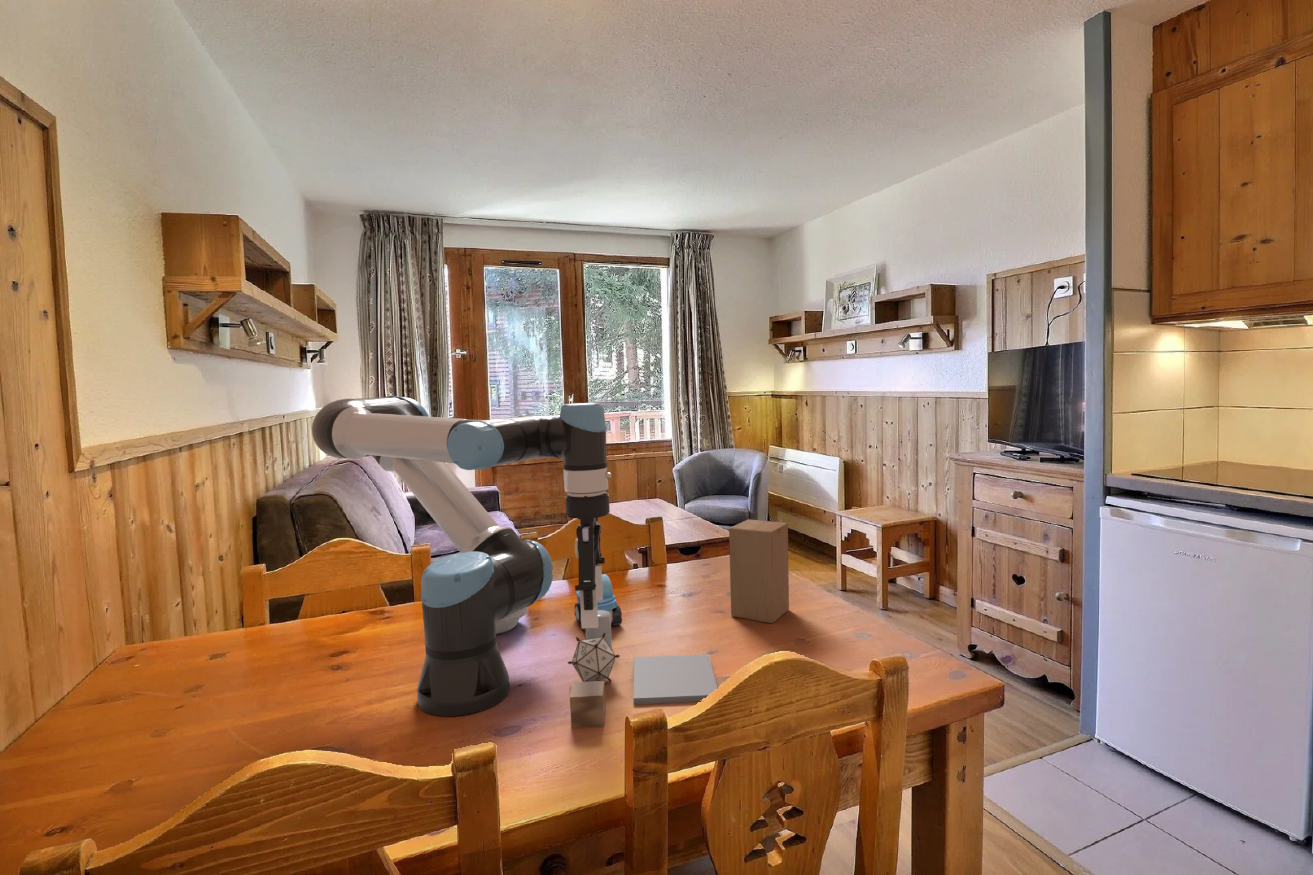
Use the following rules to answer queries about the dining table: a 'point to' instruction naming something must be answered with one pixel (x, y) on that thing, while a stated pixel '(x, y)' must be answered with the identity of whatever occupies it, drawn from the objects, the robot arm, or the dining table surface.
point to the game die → (593, 659)
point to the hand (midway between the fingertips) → (593, 613)
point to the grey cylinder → (601, 627)
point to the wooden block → (759, 570)
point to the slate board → (673, 678)
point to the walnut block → (587, 704)
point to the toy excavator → (607, 602)
